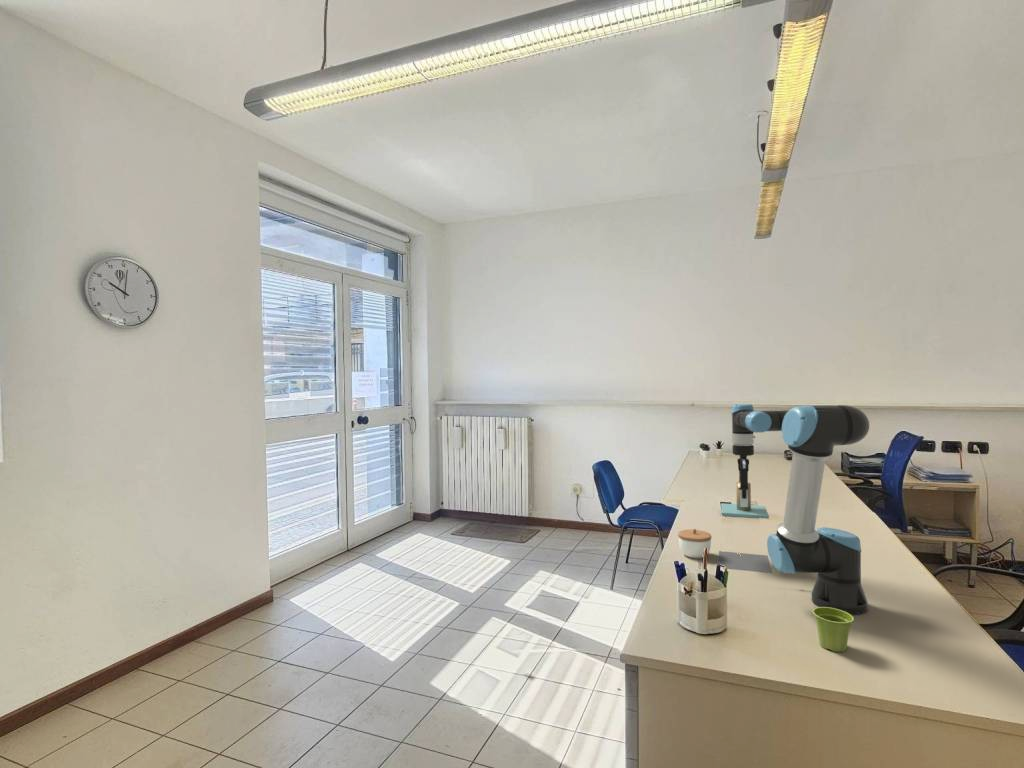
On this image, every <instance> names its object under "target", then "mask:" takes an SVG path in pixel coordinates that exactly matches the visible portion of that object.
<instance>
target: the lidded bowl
mask: <svg viewBox="0 0 1024 768" xmlns="http://www.w3.org/2000/svg"><path fill="white" fill-rule="evenodd" d="M677 536H678V547H679V549H680V551H681V552H682V553H683V555H684V556H686V557H688V558H691V559H703V558H702V554H703V549H704V548H707V549H708V554H709V553H710V551H711V548H712V547H711V546H712V534H711V533H709V532H707V531H705V530H699V529H697V528H692V529H682V530H679V532H678V533H677Z"/></svg>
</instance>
